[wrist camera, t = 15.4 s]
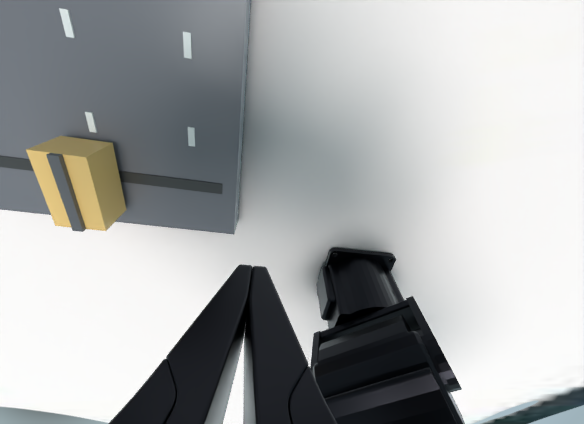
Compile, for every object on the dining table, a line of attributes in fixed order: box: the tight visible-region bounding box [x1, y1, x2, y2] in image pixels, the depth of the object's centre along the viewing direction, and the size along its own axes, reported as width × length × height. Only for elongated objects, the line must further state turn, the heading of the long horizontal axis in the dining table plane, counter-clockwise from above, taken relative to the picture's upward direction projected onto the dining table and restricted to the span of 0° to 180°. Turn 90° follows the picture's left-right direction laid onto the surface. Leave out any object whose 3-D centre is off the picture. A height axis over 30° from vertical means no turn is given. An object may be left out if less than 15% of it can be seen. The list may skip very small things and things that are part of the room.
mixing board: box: [0, 0, 251, 234], centre depth 16 cm, size 18×20×2 cm
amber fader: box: [26, 136, 126, 232], centre depth 16 cm, size 3×5×3 cm, turn 171°
